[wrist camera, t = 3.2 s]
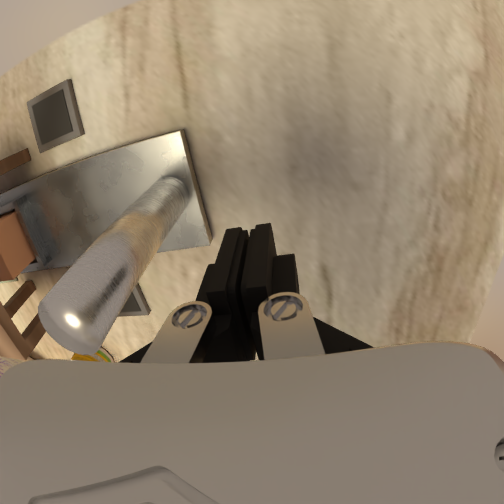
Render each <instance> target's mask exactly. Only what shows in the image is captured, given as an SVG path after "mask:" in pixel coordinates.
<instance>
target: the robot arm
mask: <svg viewBox="0 0 504 504" xmlns="http://www.w3.org/2000/svg"><path fill="white" fill-rule="evenodd" d="M256 352H257V355H258V359H259V360H258V361H250V360H255V355H256ZM0 504H504V362H503V361H502V360H501V359H500V358H499V357H498V356H497V355H496V354H494V353H493V352H492V351H490V350H487V349H486V348H484V347H481V346H477V345H474V344H469V343H462V342H453V341H425V342H414V343H405V344H398V345H392V346H384V347H377V348H374V347H372V346H370V345H368V344H366V343H364V342H362V341H360V340H358V339H356V338H354V337H352V336H350V335H348V334H346V333H344V332H342V331H340V330H338V329H336V328H334V327H332V326H330V325H328V324H326V323H324V322H322V321H320V320H318V319H316V318H314V317H313V316H312V313H311V310H310V307H309V304H308V302H307V300H306V299H305V297H303V296H302V295H300V294H299V284H298V275H297V268H296V261H295V255H294V254H287V255H279V256H277V254H276V248H275V243H274V237H273V232H272V226H271V223H266V224H259V225H256V227H255V229H251V231H250V237H249V235H248V231H247V230H242V228H241V227H238V228H231V229H226V232H225V235H224V238H223V241H222V244H221V247H220V250H219V253H218V256H217V259H216V262H215V264H209V265H208V267H207V269H206V272H205V275H204V278H203V281H202V283H201V286H200V289H199V292H198V295H197V298H196V301H192V302H188V303H184V304H182V305H180V306H178V307H177V308H175V309H174V310H173V311H172V312H171V313H170V314H169V316H168V317H167V319H166V321H165V322H164V324H163V325H162V327H161V329H160V330H159V332H158V334H157V335H156V337H155V339H154V340H153V342H151V343H149V344H148V345H146V346H144V347H143V348H141V349H140V350H138V351H136V352H135V353H133V354H131V355H130V356H128V357H126V358H125V359H123V360H122V361H120V362H119V363H117V362H96V361H80V360H61V359H38V360H31V361H26V362H23V363H20V364H17V365H15V366H13V367H11V368H9V369H8V370H7V371H6V372H5V373H4V374H3V375H2V376H1V377H0Z"/></svg>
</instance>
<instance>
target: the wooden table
mask: <svg viewBox="0 0 504 504" xmlns="http://www.w3.org/2000/svg"><path fill="white" fill-rule="evenodd" d="M27 106H28V110H29V114H30V119H31V123H32V126H33V130H34V134H35V138H36V141H37V145H38V148H39V151H40V153H42V152H44V151H46V150H49V149H51V148H53V147H55V146H57V145H60V144H62V143H64V142H67V141H69V140H71V139H74V138H76V137H79V136H81V135H84V130H83V126H82V123H81V119H80V115H79V111H78V107H77V103H76V99H75V95H74V90H73V86H72V82H71V79H69V80H65V81H63V82H62V83H60V84H58V85H56V86H54V87H52V88H50V89H49V90H47V91H45V92H43V93H42V94H40V95H38V96H37V97H35V98H33V99H32V100H30V101H28V102H27ZM30 160H31V158H30V155H29V151H28V148H27V149H25V150H23V151H20V152H18V153H16V154H14V155H11V156H9V157H7V158H5V159H3V160H1V161H0V176H1V175H2V174H4V173H6V172H8V171H10V170H12V169H14V168H16V167H18V166H20V165H22V164H24V163H26V162H28V161H30ZM13 281H18V279H17V277H16V278H15V279H14V280H9V281H1V282H0V283H6V282H13ZM35 290H36V288H35V286H34V284H33V282H32V281H26V282H25V283H24V284H23V285H22V286H21V287H20V288H19V289H18V290H17V291H16V293H15V294H14V295H13V296H12V297H11V298H10V299H9V300H8V301H7V303H6V304H5V305H4V306H3V305H2V303H1V302H0V356H1V357H7V358H13V359H19V360H25V361H26V360H27V358H28V357H29V355H30V354H31V352H32V351H33V349H34V348H35V346H36V345H37V344H38V342H39V341H40V339H41V338H42V336H43V335H44V334H45V332H46V330H45V328H44V327H43V325H42V323H41V321H40V318H39V315H38V314H37V315H36V316H35V317H34V319H33V320H32V321H31V323H30V324H29V325H28V327H27V328H26V329H25V331H24V332H23V333H22V335H21V334H20V332H19V331H18V329H17V328H16V326H15V325H14V323H13V321H12V320H11V318H12V317H13V316H14V314H15V313H16V312H17V311H18V309H19V308H20V307H21V306H22V305H23V304H24V302H25V301H26V300H27V299H28V298H29V297H30V295H31V294H32V293H33V292H34V291H35ZM149 313H150V309H149V307H148V305H147V303H146V300H145V298H144V296H143V294H142V291H141V289H140V287H139V285H138V283H137V284H136V286H135V288H134V289H133V291H132V293H131V294H130V296H129V298H128V299H127V301H126V303H125V304H124V306H123V308H122V310H121V311H120V313H119V315H118V316H139V315H149ZM118 316H117V317H118Z"/></svg>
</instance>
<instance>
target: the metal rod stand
mask: <svg viewBox="0 0 504 504" xmlns="http://www.w3.org/2000/svg"><path fill="white" fill-rule="evenodd" d="M12 210H15V211H16V213H17V216H18V218H19V221H20V223H21V226H22V228H23V230H24V233H25V235H26V237H27V240H28V242H29V244H30V246H31V248H32V251H33V253H34V255H35V257H36V258H35V259H34V260H33V261H32V262H31V263H30V264H29V265H28V266H27V267H26V268H25V269H24V270H23V271H22V272H21V273H26V272H32V271H39V270H45V269H52V268H58V267H64V266H71V265H72V266H71V267H70V268H69V269H68V271H67V272H66V273H65V274H64V275H63V276H62V277H61V278H60V280H59V281H58V282H57V283H56V284H55V285H54V286H53V288H52V289H51V290H50V291H49V292H48V294H47V295H46V296H45V297H44V298H43V300H42V301H41V302H40V304H39V306H38V315H39V318H40V321H41V323H42V325H43V327H44V328H45V330H46V331H47V333H48V334H49V335H50V336H51V337H52V338H53V339H54V340H55V341H56V342H57V343H59V344H60V345H61V346H63V347H64V348H66V349H68V350H70V351H72V352H74V353H77V354H81V355H92V354H95V353H96V352H97V351H98V350H99V348H100V347H101V345H102V343H103V341H104V339H105V338H106V336H107V334H108V332H109V330H110V329H111V327H112V325H113V323H114V322H115V320H116V318H117V316H118V315H119V313H120V311H121V310H122V308H123V306H124V304H125V303H126V301H127V299H128V298H129V296H130V294H131V293H132V291H133V289H134V288H135V286H136V284H137V283H138V281H139V279H140V278H141V276H142V275H143V273H144V271H145V270H146V268H147V267H148V265H149V263H150V262H151V260H152V259H153V257H154V255H155V254H156V253H159V252H166V251H173V250H180V249H187V248H194V247H201V246H208V245H210V244H211V242H212V236H211V232H210V229H209V225H208V221H207V218H206V214H205V210H204V206H203V203H202V199H201V195H200V191H199V187H198V184H197V180H196V176H195V172H194V168H193V164H192V160H191V156H190V152H189V148H188V144H187V140H186V136H185V132H184V129H183V130H179V131H175V132H171V133H167V134H163V135H159V136H156V137H152V138H149V139H145V140H142V141H138V142H135V143H132V144H128V145H125V146H122V147H119V148H116V149H112V150H109V151H106V152H103V153H100V154H97V155H95V156H92V157H89V158H86V159H83V160H80V161H78V162H75V163H72V164H70V165H67V166H64V167H62V168H59V169H57V170H54V171H52V172H49V173H47V174H44V175H42V176H39V177H37V178H35V179H32V180H30V181H28V182H25V183H23V184H21V185H19V186H17V187H14V188H12V189H10V190H8V191H6V192H4V193H1V194H0V215H2V214H5V213H7V212H10V211H12Z"/></svg>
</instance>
